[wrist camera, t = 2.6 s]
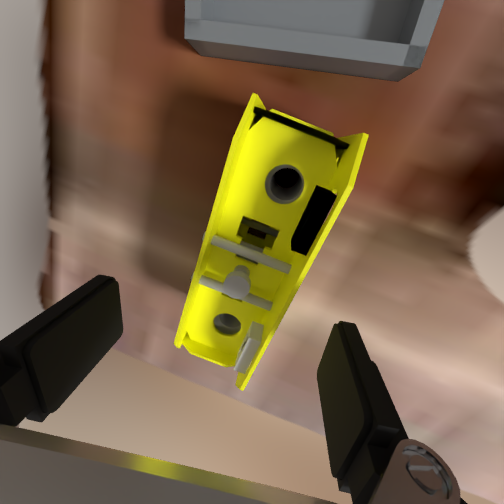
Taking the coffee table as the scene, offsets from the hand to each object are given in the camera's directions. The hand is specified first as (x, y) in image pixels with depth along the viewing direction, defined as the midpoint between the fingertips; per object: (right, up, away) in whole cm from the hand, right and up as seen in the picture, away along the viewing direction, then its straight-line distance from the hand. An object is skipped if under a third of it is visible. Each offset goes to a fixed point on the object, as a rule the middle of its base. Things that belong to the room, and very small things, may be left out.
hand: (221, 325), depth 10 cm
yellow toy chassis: (+2, +5, +9) cm, 10 cm away
